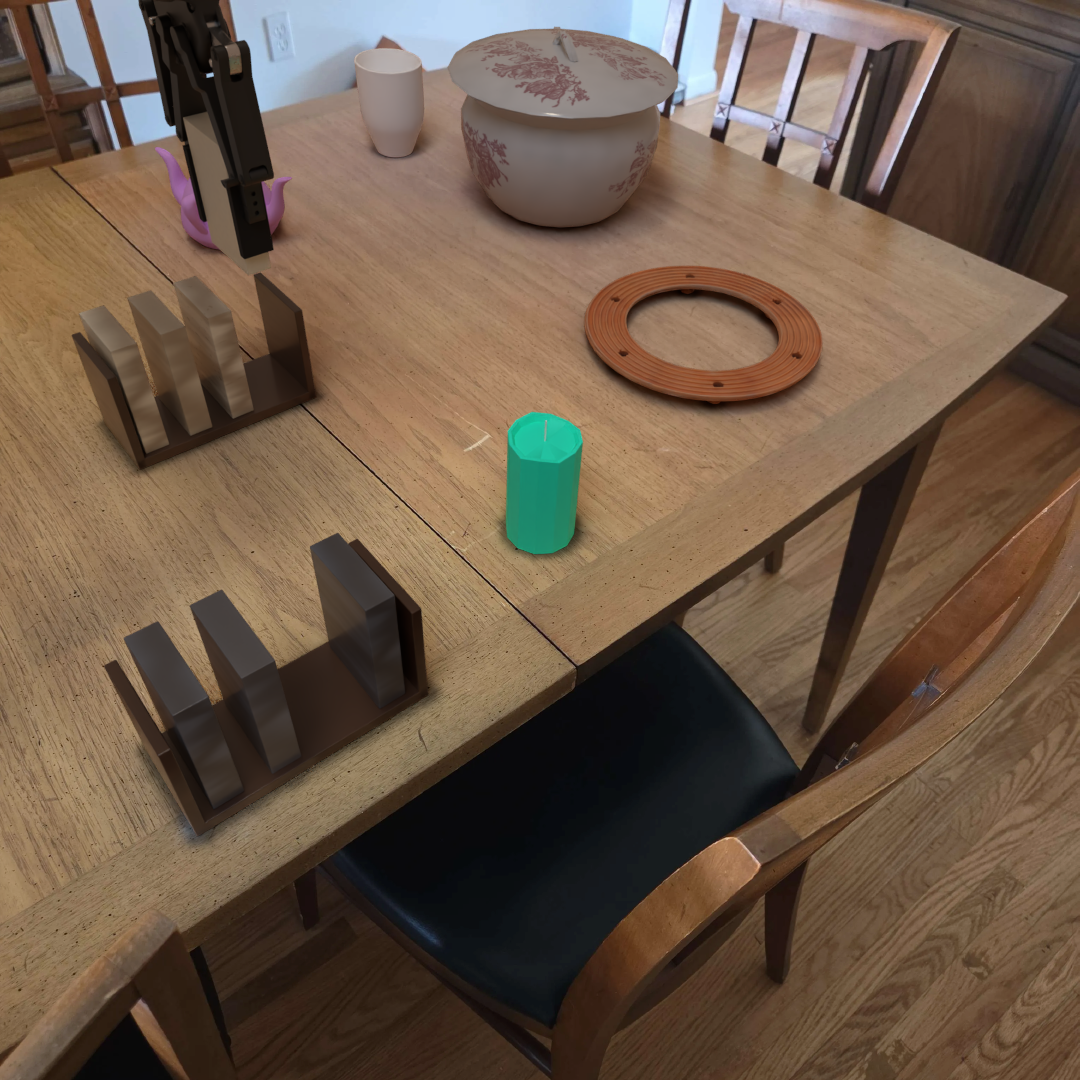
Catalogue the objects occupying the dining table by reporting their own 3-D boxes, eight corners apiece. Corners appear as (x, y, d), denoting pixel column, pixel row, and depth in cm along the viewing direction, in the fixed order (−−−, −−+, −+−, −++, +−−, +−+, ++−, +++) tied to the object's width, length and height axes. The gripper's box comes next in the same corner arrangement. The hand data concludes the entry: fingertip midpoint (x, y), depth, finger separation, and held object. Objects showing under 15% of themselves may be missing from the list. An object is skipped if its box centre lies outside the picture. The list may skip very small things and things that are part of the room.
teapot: (172, 216, 115) (154, 144, 109) (284, 201, 119) (273, 131, 113) (183, 263, 108) (164, 189, 101) (303, 245, 112) (291, 174, 105)
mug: (409, 168, 127) (403, 76, 118) (351, 156, 129) (341, 64, 120) (444, 136, 135) (441, 47, 126) (389, 124, 137) (383, 36, 128)
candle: (495, 513, 81) (496, 405, 73) (558, 498, 83) (567, 390, 74) (519, 561, 78) (523, 453, 69) (585, 545, 79) (597, 436, 71)
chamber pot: (580, 280, 109) (595, 97, 94) (407, 206, 120) (396, 31, 105) (701, 197, 125) (730, 29, 110) (538, 138, 136) (544, -22, 121)
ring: (536, 324, 102) (537, 305, 100) (701, 259, 113) (704, 241, 112) (696, 448, 89) (700, 428, 87) (865, 361, 100) (872, 342, 98)
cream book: (248, 276, 79) (221, 148, 71) (211, 242, 83) (182, 117, 75) (271, 268, 80) (247, 141, 72) (234, 235, 84) (208, 111, 76)
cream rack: (139, 470, 83) (99, 359, 75) (105, 424, 88) (63, 314, 79) (316, 397, 92) (299, 290, 83) (277, 358, 96) (256, 252, 87)
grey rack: (197, 837, 60) (148, 737, 51) (146, 750, 64) (93, 645, 55) (428, 694, 68) (420, 588, 59) (370, 626, 72) (354, 517, 64)
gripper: (290, -48, 60) (333, 270, 77) (162, -114, 71) (224, 179, 87) (180, -30, 57) (250, 299, 73) (62, -102, 67) (146, 200, 84)
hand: (236, 233), depth 80 cm, fingers closed on cream book, 7 cm apart
